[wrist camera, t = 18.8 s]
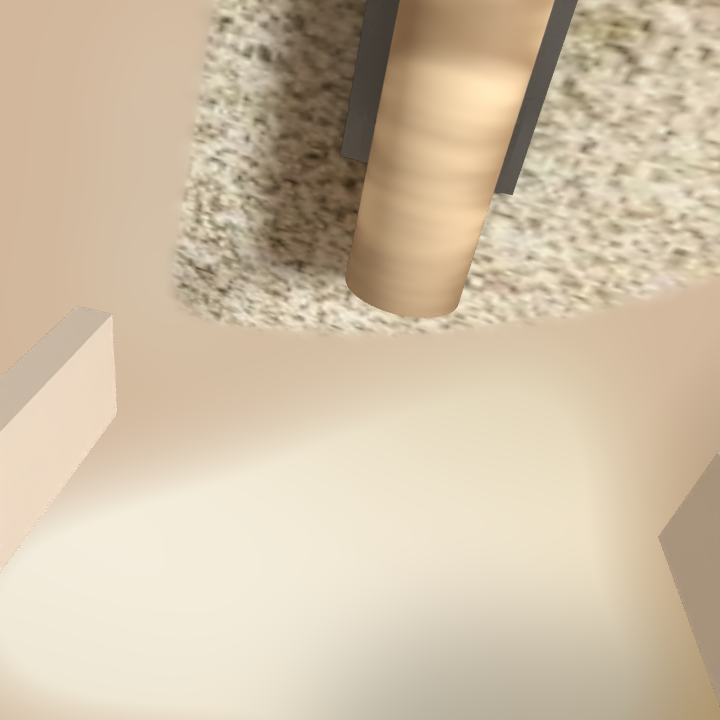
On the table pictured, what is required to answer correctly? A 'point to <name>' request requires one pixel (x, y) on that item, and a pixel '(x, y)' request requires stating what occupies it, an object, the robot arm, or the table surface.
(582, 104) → the table surface
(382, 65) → the cradle
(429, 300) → the axle
